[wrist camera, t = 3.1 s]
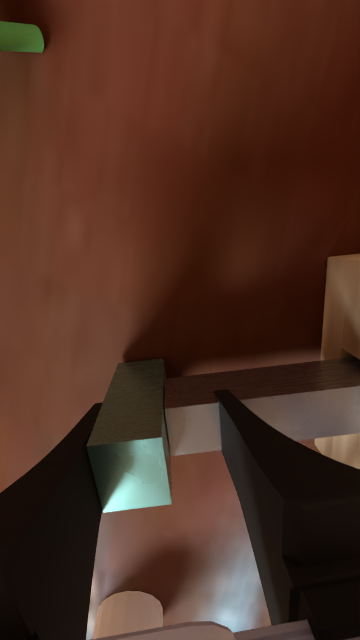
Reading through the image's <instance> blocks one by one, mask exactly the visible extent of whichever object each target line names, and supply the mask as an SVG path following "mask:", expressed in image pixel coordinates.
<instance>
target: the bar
mask: <svg viewBox="0 0 360 640" xmlns="http://www.w3.org/2000/svg"><path fill="white" fill-rule="evenodd" d="M224 389H228V390H229V391H230V392H231V393H232V394H233V395H234V396H235V397H236V398H237V399H239V400H240V401H241V402H242V403H243V404H244V405H245V406H246V407H247V408H249V409H250V410H251V411H252V412H253V413H254V414H256V415H257V416H258V417H259V418H261V419H262V420H263V421H265V422H266V423H267V424H269V425H270V426H272V427H273V428H275V429H276V430H278V431H279V432H281V433H283V434H284V435H286V436H287V437H289V438H291V439H293V440H294V441H299V440H307V439H316V438H324V437H332V436H341V435H349V434H357V433H360V359H358V358H357V357H348V358H339V359H331V360H322V361H313V362H305V363H296V364H287V365H279V366H270V367H261V368H253V369H244V370H235V371H227V372H218V373H209V374H201V375H192V376H183V377H175V378H166V373H165V366H164V358H161V359H152V360H143V361H134V362H125V363H118V365H117V368H116V370H115V373H114V376H113V378H112V381H111V383H110V386H109V389H108V391H107V394H106V396H105V399H104V401H103V404H102V407H101V409H100V412H99V414H98V417H97V420H96V422H95V425H94V427H93V430H92V432H91V435H90V438H89V440H88V443H87V445H86V448H87V452H88V455H89V459H90V463H91V467H92V471H93V475H94V479H95V482H96V486H97V490H98V494H99V498H100V502H101V505H102V509H103V512H111V511H120V510H128V509H136V508H144V507H152V506H160V505H168V504H172V498H171V456H175V455H183V454H192V453H200V452H208V451H216V450H222V446H221V431H220V416H219V403H218V401H217V399H216V396H215V394H214V391H218V390H224Z"/></svg>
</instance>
